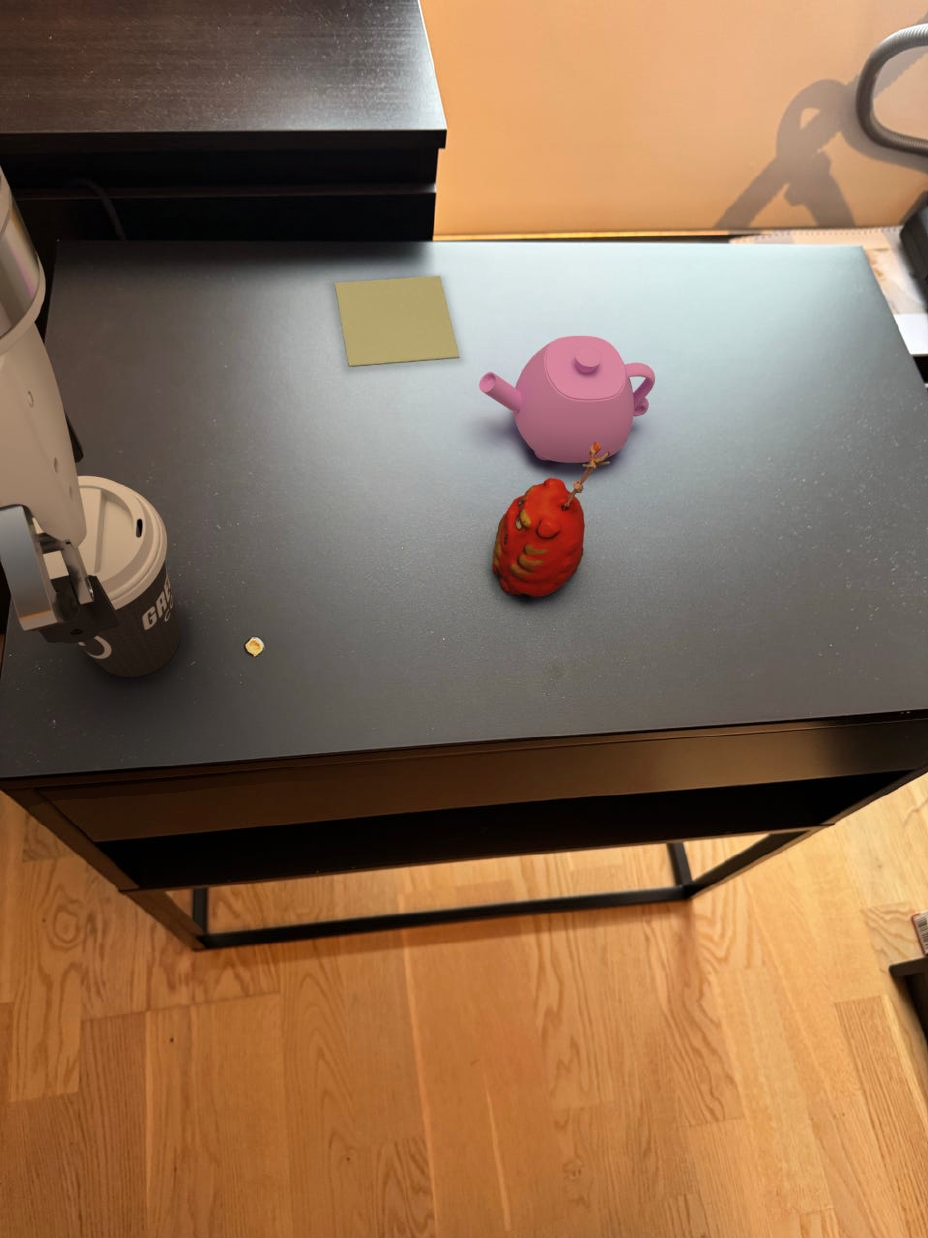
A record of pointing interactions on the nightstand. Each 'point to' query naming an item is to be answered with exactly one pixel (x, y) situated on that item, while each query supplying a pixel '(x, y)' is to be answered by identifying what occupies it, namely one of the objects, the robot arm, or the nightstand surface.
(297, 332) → the nightstand surface
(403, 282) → the mat
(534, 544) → the red clay folk toy
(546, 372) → the teapot
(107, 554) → the coffee cup
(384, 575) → the nightstand surface
